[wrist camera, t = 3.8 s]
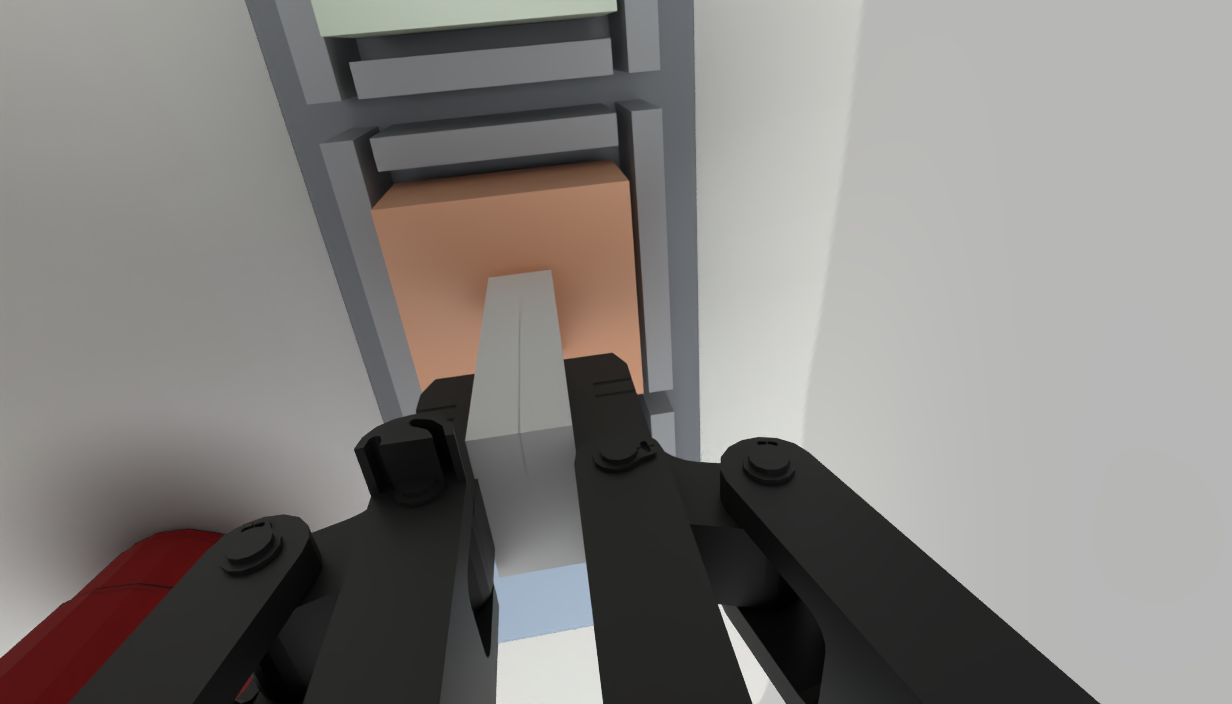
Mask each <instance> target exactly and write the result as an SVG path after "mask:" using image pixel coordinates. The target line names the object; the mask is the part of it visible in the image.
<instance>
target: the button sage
mask: <svg viewBox="0 0 1232 704" xmlns="http://www.w3.org/2000/svg"><path fill="white" fill-rule="evenodd" d="M311 3H312V7H313V10H314V14H315V17H316V21H317V24H318V28H319V31H320V35H321V37H339V38H367V37H378V36H389V35H401V34H412V33H423V32H435V31H446V30H457V29H469V28H480V27H491V26H503V25H514V24H525V23H537V22H548V21H559V20H571V19H582V18H593V17H601V16H604V15H607V14H609V13H612V12H615V11H617V1H616V0H311Z"/></svg>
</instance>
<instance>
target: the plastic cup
mask: <svg viewBox="0 0 1232 704" xmlns="http://www.w3.org/2000/svg"><path fill="white" fill-rule="evenodd" d="M223 536H224V535H222V534H219V533H212V532H205V531H199V530H192V529H185V530H177V531H168V532H159V533H157V534H155V535H153V536H151V537H149V538H146V539H144V540H142V541H140V542H138V543H136V544H135V545H134V546H133V547H131V548H130V549H129V550H127V551H125V552H123V553H121V554H120V555H119V556H118V557H117V558H116V559H115V560H113V561H112V562H111V563H110V564H109V565H108V566H107V567H106V568H105V569H104V570H103V571H102V572H100V573H99V574H98V575H97V576H96V577H95V578H94V579H93V580H92V581H91V582H90V583H89V584H87V585H86V586H85V587H84V588H83V589H82V590H81V591H80V592H79V593H78V594H77V595H76V596H75V597H73V598H72V599H71V600H69V601H67V602H65V603H63V604H61V605H60V606H59V607H58V608H57V609H56V610H55V611H54V612H52V613H51V614H50V615H49V616H48V617H47V618H46V619H44V620H43V621H42V622H41V623H40V624H39V625H38V626H37V627H35V628H34V629H33V630H32V631H31V632H30V633H29V634H27V635H26V636H25V637H24V638H23V639H22V640H21V641H20V642H18V643H17V644H16V645H15V646H14V647H13V648H12V649H11V650H9V651H8V652H7V653H6V654H5V655H4V656H3V657H1V658H0V704H68V703H69V702H70V700H71V699H72V698H73V697H74V696H75V695H76V694H77V693H78V692H79V691H80V689H81V688H82V687H83V686H84V685H85V684H86V683H87V682H88V681H89V680H90V678H91V677H92V676H93V675H94V674H95V673H96V672H97V671H98V670H99V669H100V667H101V666H102V665H103V664H104V663H105V662H106V661H107V660H108V659H109V658H110V656H111V655H112V654H113V653H114V652H115V651H116V650H117V649H118V648H119V647H120V645H121V644H122V643H123V642H124V641H125V640H126V639H127V638H128V637H129V636H130V635H131V633H132V632H133V631H134V630H135V629H136V628H137V627H138V626H139V625H140V624H141V622H142V621H143V620H144V619H145V618H146V617H147V616H148V615H149V614H150V613H151V611H152V610H153V609H154V608H155V607H156V606H157V605H158V604H159V603H160V602H161V600H162V599H163V598H164V597H165V596H166V595H167V594H168V593H169V592H170V591H171V589H172V588H173V587H174V586H175V585H176V584H177V583H178V582H179V581H180V580H181V578H182V577H183V576H184V575H185V574H186V573H187V572H188V571H189V570H190V569H191V567H192V566H193V565H194V564H195V563H196V562H197V561H198V560H199V559H200V558H201V556H202V555H203V554H204V553H205V552H206V551H207V550H208V549H209V548H211V547H212V546H213V545H214V544H215V543H216V542H217V541H219V540H220V539H221V538H222V537H223ZM251 680H252V677H251V676H250V678H249V679H248V681H247V682H246V684H245V685H244V687H243V688H242V690H241V691H240V693H239V694H238V696H237V697H236V699H237V698H238V697H239V695H240V694H241V693H242V692H243V691H244V690H245V689H246V688H247V686H248V685H249V683H250V682H251Z"/></svg>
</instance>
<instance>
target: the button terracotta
mask: <svg viewBox="0 0 1232 704" xmlns="http://www.w3.org/2000/svg"><path fill="white" fill-rule="evenodd" d="M370 211H371V214H372V218H373V221H374V225H375V228H376V232H377V235H378V239H379V243H380V246H381V250H382V253H383V257H384V260H385V264H386V267H387V271H388V274H389V278H390V281H391V285H392V288H393V292H394V296H395V299H396V303H397V306H398V310H399V313H400V317H401V320H402V324H403V327H404V331H405V334H406V338H407V342H408V345H409V349H410V352H411V356H412V359H413V363H414V366H415V370H416V373H417V377H418V380H419V384H420V388H421V391H422V392H423V391H424V390H425V389H426V388H427V387H428V386H429V385H430V384H431V383H432V382H433V381H434V380H435V379H440V378H448V377H455V376H462V375H469V374H475V368H476V361H477V354H478V347H479V340H480V333H481V326H482V319H483V312H484V305H485V298H486V291H487V284H488V278H489V277H497V276H505V275H512V274H520V273H528V272H536V271H544V270H551V272H552V279H553V286H554V293H555V301H556V308H557V315H558V322H559V329H560V336H561V343H562V350H563V357H564V359H570V358H577V357H584V356H591V355H598V354H606V353H614V354H615V355H617V356H618V357H619V358H620V359H622V360H623V361H624V362H626V363H627V365H628V368H629V371H630V374H631V377H632V380H633V383H634V386H635V389H636V392H637V394H643V393H644V390H643V376H642V361H641V347H640V332H639V317H638V303H637V288H636V274H635V259H634V244H633V230H632V215H631V201H630V186H629V180H628V179H627V177H626V176H625V175H624V174H623V173H622V171H621V170H620V169H619V168H618V167H617V165H616V164H615V163H614V162H613V161H612V159H608V160H599V161H590V162H581V163H572V164H563V165H554V166H545V167H536V168H527V169H518V170H509V171H500V172H491V173H482V174H473V175H464V176H455V177H446V178H437V179H428V180H419V181H410V182H401V183H394V185H393V186H392V187H391V188H390V189H389V190H388V191H387V192H386V194H385V195H384V196H383V197H382V198H381V199H380V200H379V201H378V203H377V204H376V205H375V206H374V207H373V208H372V209H371V210H370Z"/></svg>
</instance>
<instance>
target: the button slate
mask: <svg viewBox="0 0 1232 704" xmlns="http://www.w3.org/2000/svg"><path fill="white" fill-rule="evenodd" d="M493 582H494V586H495V590H496V594H497V598H498V603H499V626H498V643H502V642H507V641H513V640H518V639H524V638H529V637H534V636H540V635H545V634H550V633H556V632H561V631H567V630H572V629H577V628H583V627H588V626H593V625H594V623H593V615H592V607H591V599H590V591H589V583H588V574H587V566H586V563H581V564H575V565H569V566H563V567H557V568H552V569H546V570H540V571H534V572H528V573H523V574H517V575H511V576H505V577H499V574H498V570H497V566H496V562H495V561H494V580H493Z"/></svg>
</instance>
